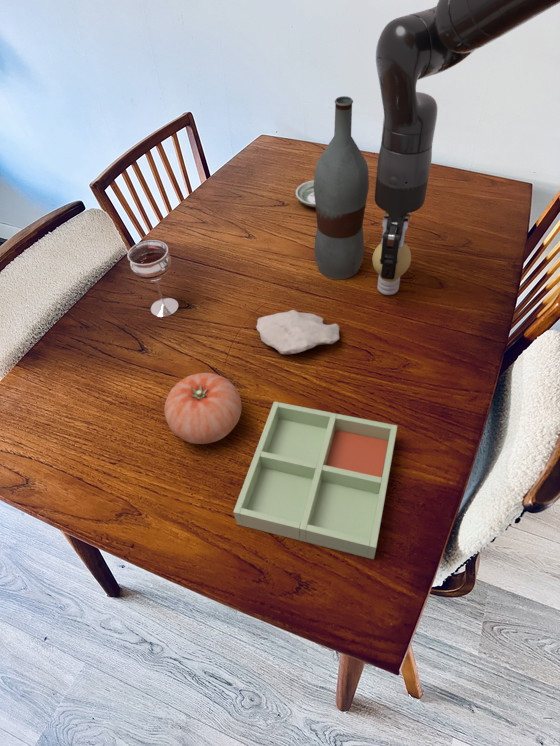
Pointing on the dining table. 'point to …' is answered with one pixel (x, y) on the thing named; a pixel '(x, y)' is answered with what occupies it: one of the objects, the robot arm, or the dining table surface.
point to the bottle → (340, 199)
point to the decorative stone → (295, 331)
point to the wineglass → (153, 271)
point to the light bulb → (401, 267)
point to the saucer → (306, 193)
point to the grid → (319, 479)
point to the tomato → (203, 408)
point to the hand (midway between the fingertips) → (390, 264)
